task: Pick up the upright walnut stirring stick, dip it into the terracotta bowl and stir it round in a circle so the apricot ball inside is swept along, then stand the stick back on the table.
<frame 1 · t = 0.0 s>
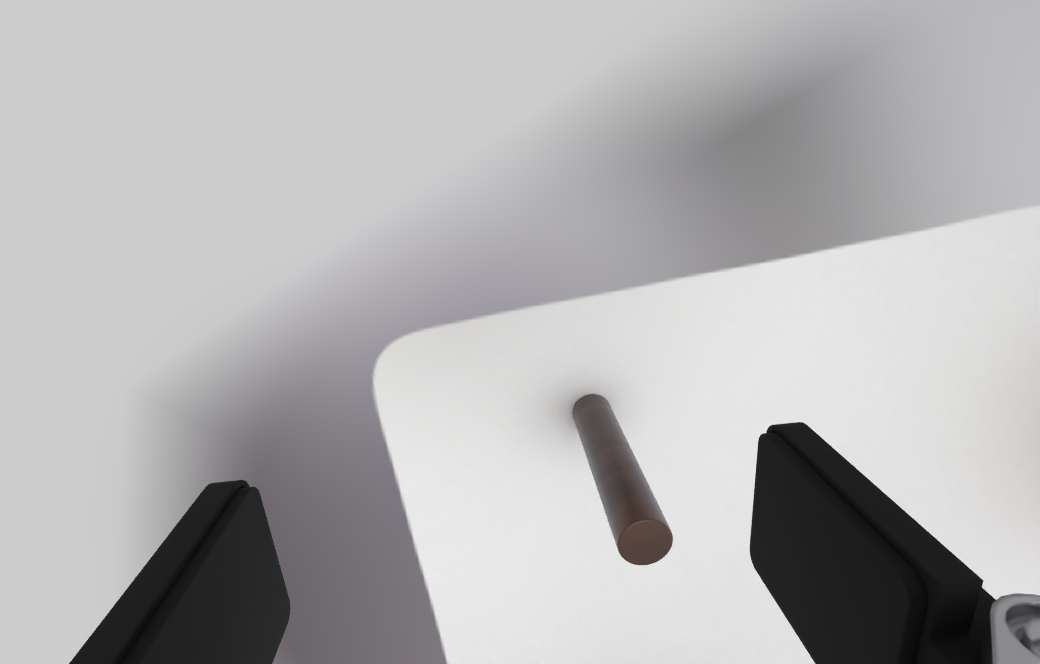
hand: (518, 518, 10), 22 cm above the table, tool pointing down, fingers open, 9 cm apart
stick: (591, 411, 35), on the table
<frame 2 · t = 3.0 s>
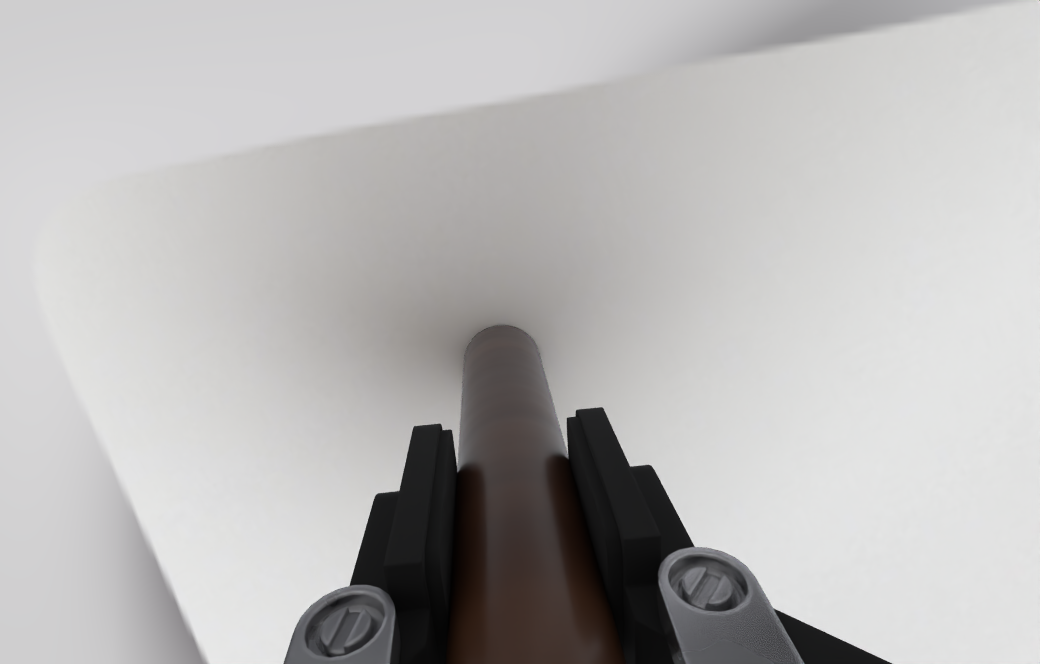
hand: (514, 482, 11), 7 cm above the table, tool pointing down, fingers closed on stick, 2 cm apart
stick: (502, 360, 18), on the table, touching gripper
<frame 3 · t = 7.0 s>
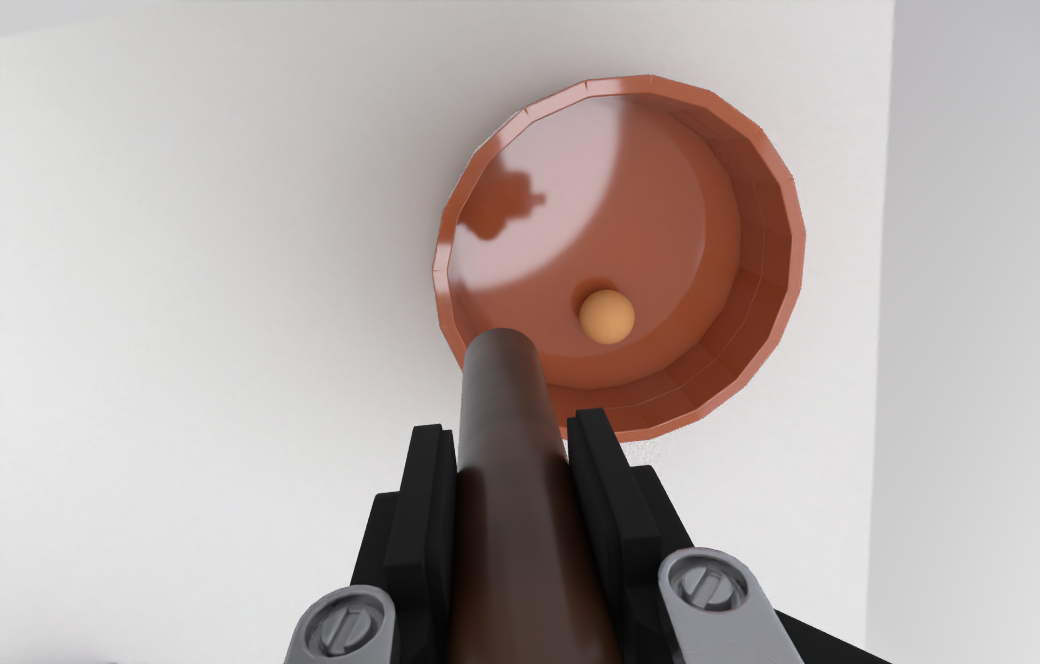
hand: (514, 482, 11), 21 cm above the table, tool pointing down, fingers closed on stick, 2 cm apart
ball: (601, 308, 32), point 1 cm above the table, touching bowl
stick: (501, 362, 18), point 14 cm above the table, touching gripper
bowl: (596, 254, 32), on the table
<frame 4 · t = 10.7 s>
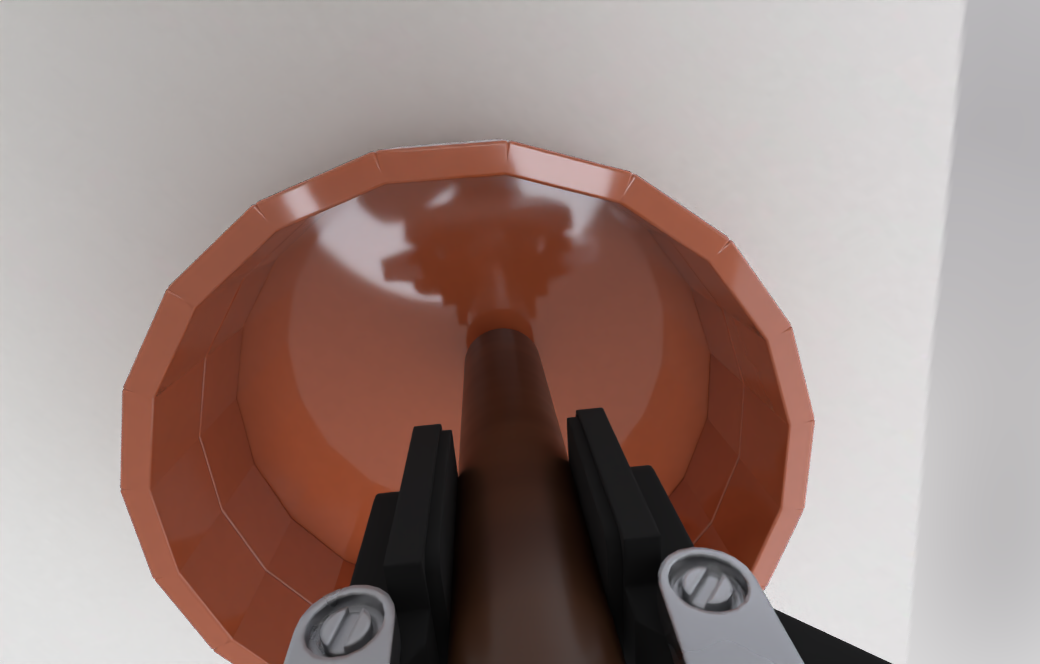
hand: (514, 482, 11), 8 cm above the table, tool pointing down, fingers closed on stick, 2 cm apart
stick: (502, 363, 18), point 2 cm above the table, touching gripper
bowl: (481, 397, 20), on the table
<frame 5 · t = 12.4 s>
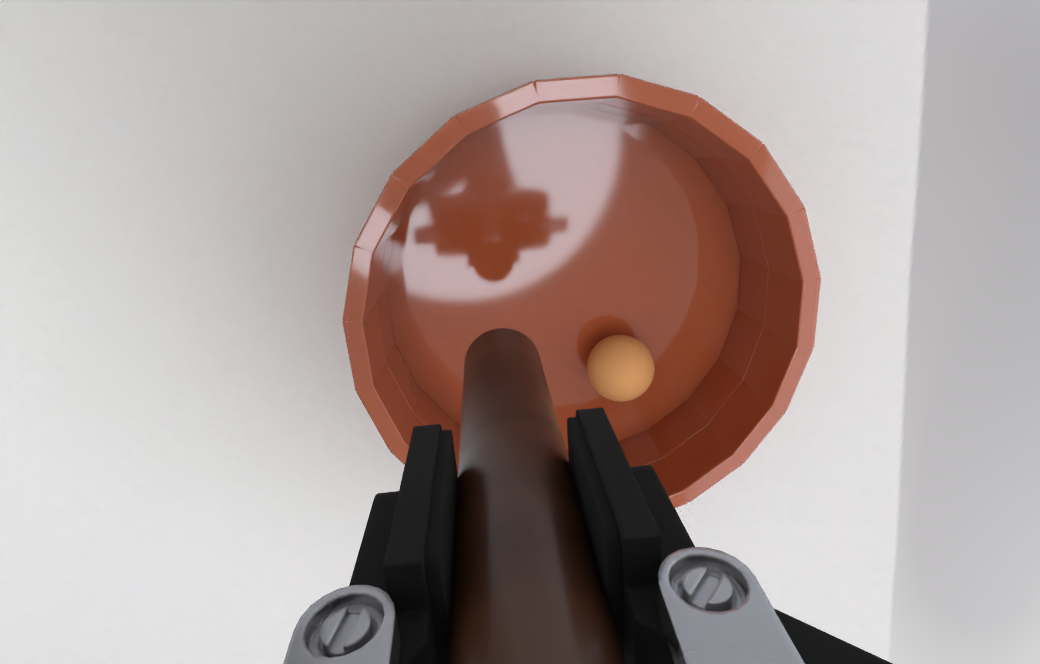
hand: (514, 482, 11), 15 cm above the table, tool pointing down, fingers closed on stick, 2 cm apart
ball: (602, 341, 26), point 1 cm above the table, tilted 48°, touching bowl
stick: (502, 363, 18), point 9 cm above the table, touching gripper
bowl: (564, 293, 26), on the table
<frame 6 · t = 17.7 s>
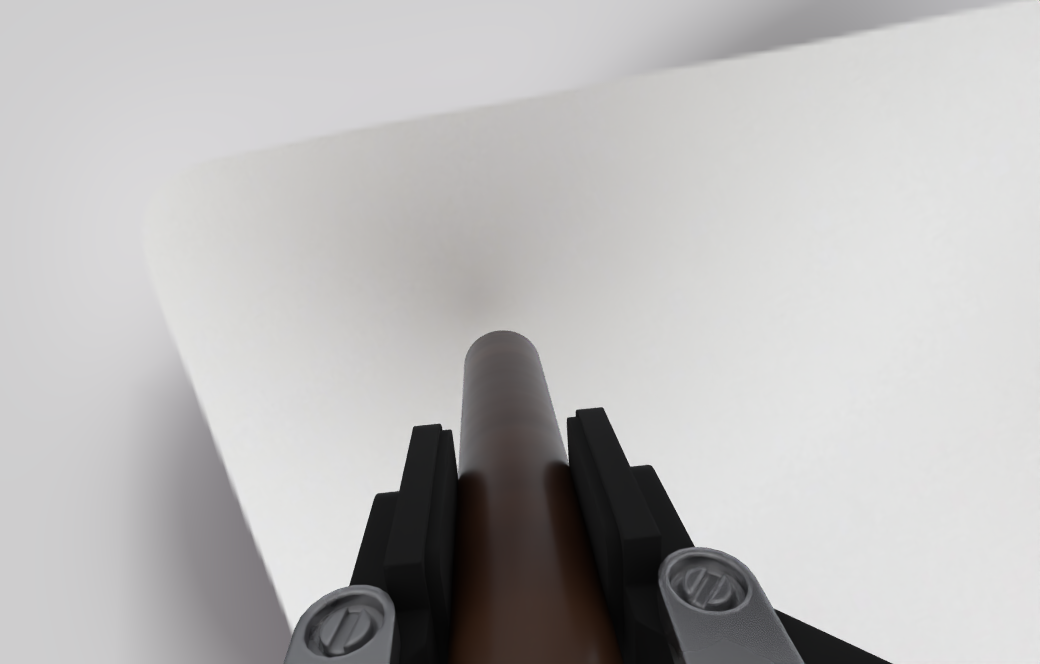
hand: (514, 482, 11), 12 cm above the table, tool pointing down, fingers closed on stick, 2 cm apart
stick: (502, 365, 18), point 5 cm above the table, touching gripper
when the fingers open (7 cm above the table, at t = 19.1 s): stick stays where it is, on the table.
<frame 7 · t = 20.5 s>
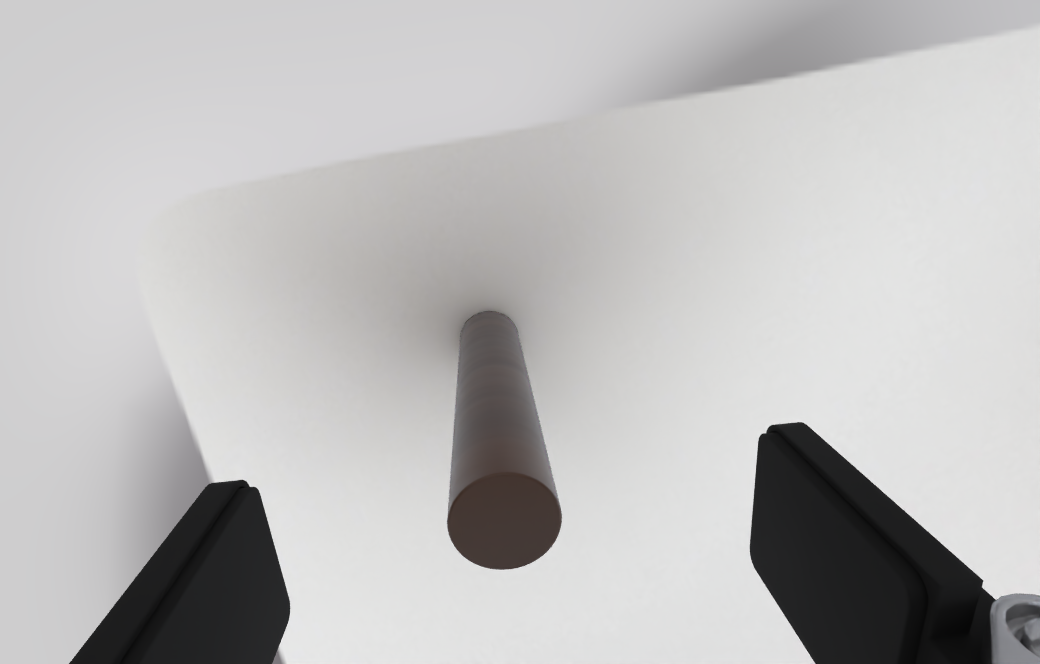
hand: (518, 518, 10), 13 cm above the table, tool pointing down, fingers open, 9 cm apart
stick: (489, 338, 23), on the table
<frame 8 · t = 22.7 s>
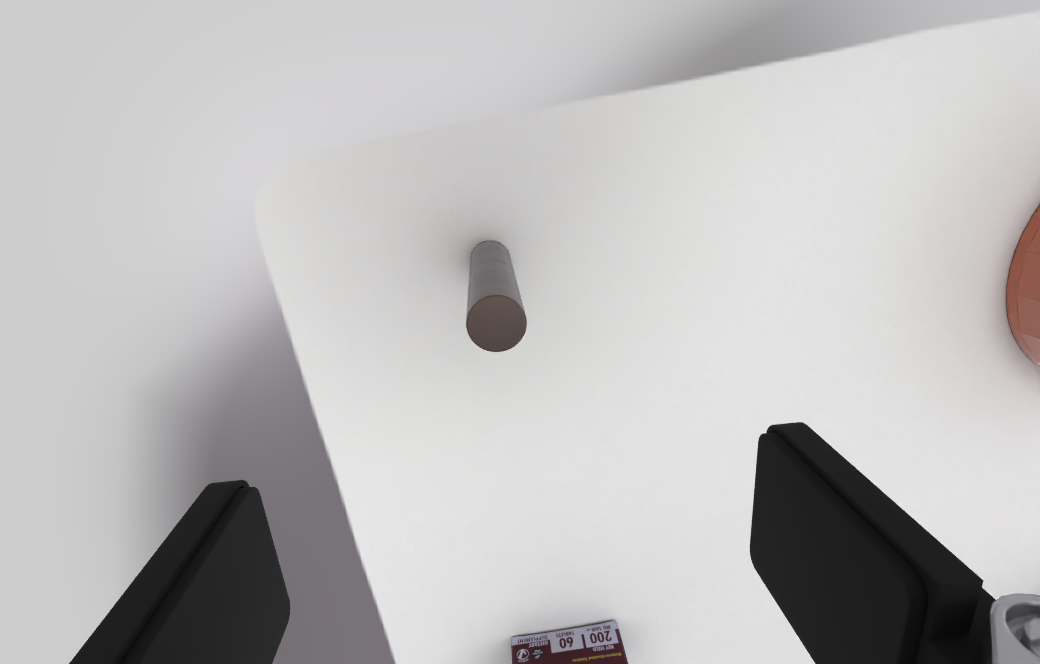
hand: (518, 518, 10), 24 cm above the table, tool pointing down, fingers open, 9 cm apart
stick: (490, 260, 33), on the table
supplement box: (565, 646, 44), on the table
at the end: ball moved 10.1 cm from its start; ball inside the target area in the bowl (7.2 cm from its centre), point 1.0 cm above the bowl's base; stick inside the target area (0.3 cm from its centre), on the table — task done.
